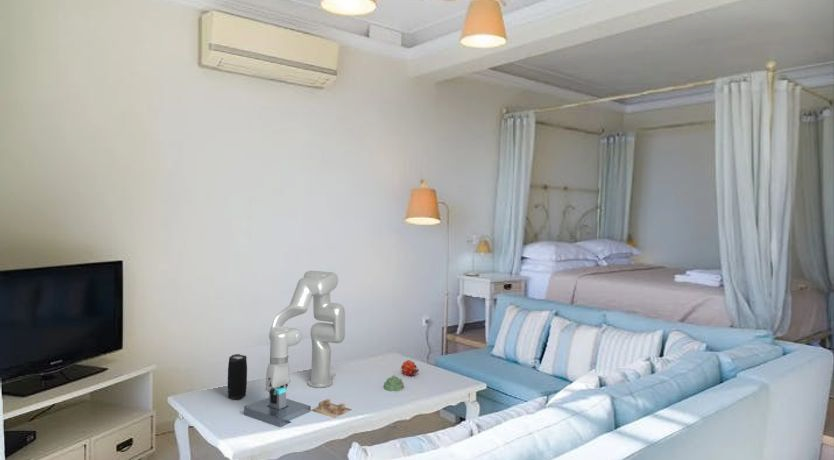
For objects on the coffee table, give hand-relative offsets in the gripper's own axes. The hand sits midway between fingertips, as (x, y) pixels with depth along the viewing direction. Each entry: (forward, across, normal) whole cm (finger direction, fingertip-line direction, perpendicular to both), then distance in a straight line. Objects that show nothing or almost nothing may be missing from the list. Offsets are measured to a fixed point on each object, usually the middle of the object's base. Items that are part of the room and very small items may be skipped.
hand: (277, 401), depth 238 cm
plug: (+2, 0, 0) cm, 2 cm away
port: (+6, 0, 0) cm, 6 cm away
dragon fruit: (+6, -82, +16) cm, 84 cm away
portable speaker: (+6, -3, -30) cm, 31 cm away
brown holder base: (+6, -16, +17) cm, 24 cm away
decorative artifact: (+6, -59, +21) cm, 63 cm away
